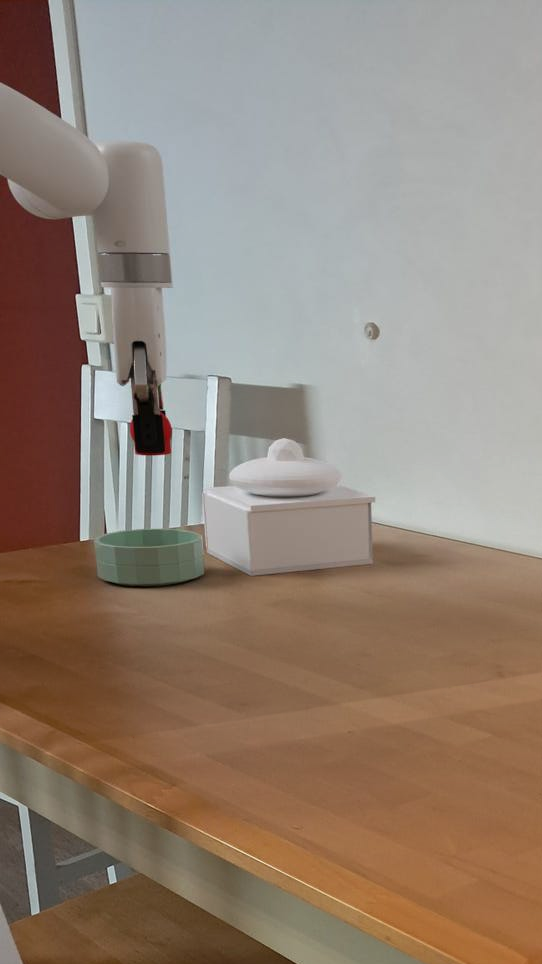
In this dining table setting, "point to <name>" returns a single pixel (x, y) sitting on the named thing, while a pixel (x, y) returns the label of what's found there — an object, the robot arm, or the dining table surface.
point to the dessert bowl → (149, 556)
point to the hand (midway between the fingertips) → (152, 448)
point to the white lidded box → (287, 516)
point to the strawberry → (167, 436)
